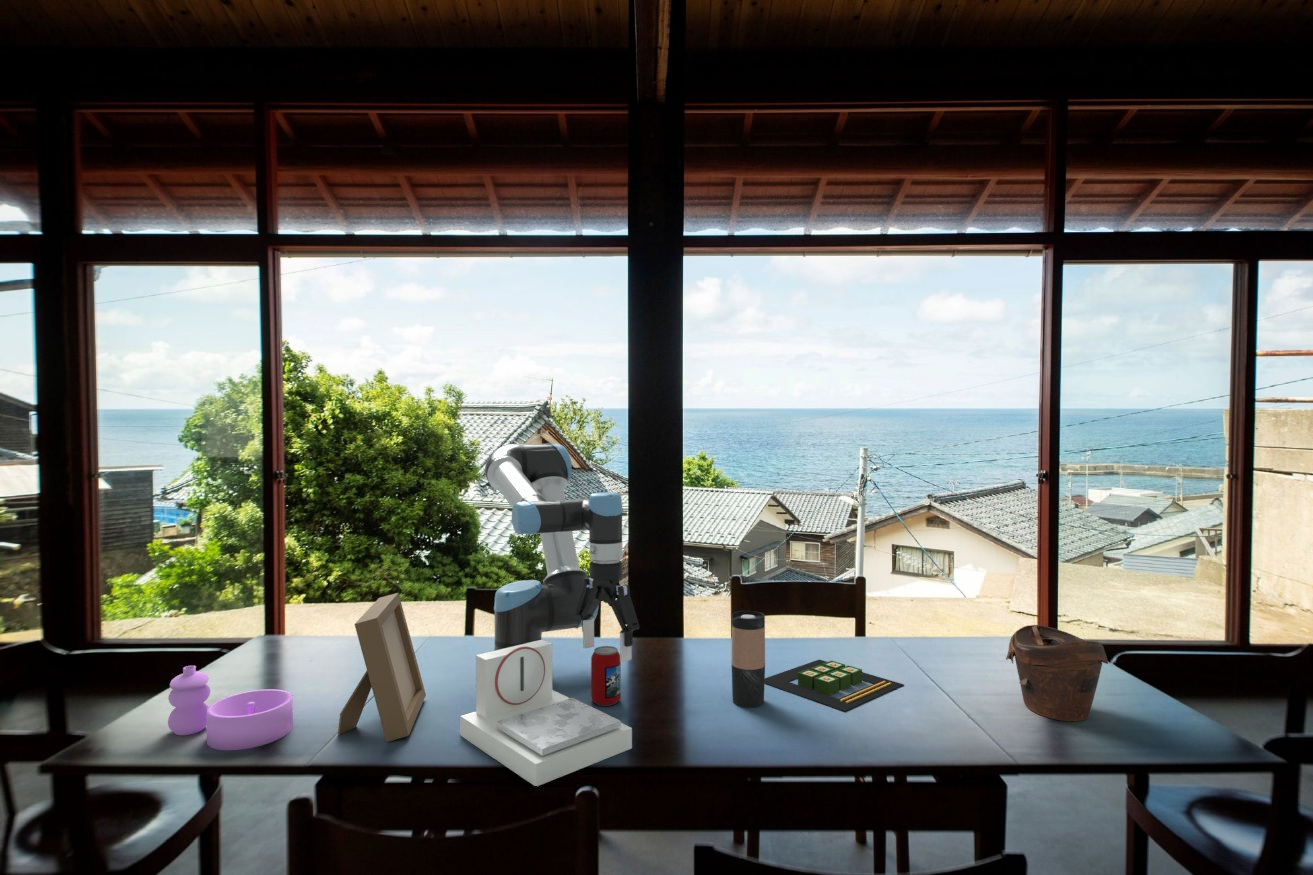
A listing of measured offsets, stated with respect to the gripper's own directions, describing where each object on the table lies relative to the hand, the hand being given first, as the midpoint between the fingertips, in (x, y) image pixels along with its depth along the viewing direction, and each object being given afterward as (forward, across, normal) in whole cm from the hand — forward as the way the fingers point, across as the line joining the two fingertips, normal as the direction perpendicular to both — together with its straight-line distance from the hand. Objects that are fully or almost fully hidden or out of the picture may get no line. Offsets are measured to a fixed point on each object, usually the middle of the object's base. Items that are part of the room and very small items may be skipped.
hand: (606, 653), depth 161 cm
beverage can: (+11, -1, 0) cm, 11 cm away
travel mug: (+12, +21, +24) cm, 34 cm away
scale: (+11, +7, -22) cm, 26 cm away
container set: (+11, -40, -67) cm, 79 cm away
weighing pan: (+7, +12, -22) cm, 26 cm away
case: (+12, +70, +71) cm, 101 cm away
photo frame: (+11, -25, -42) cm, 50 cm away
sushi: (+12, +28, +48) cm, 57 cm away
